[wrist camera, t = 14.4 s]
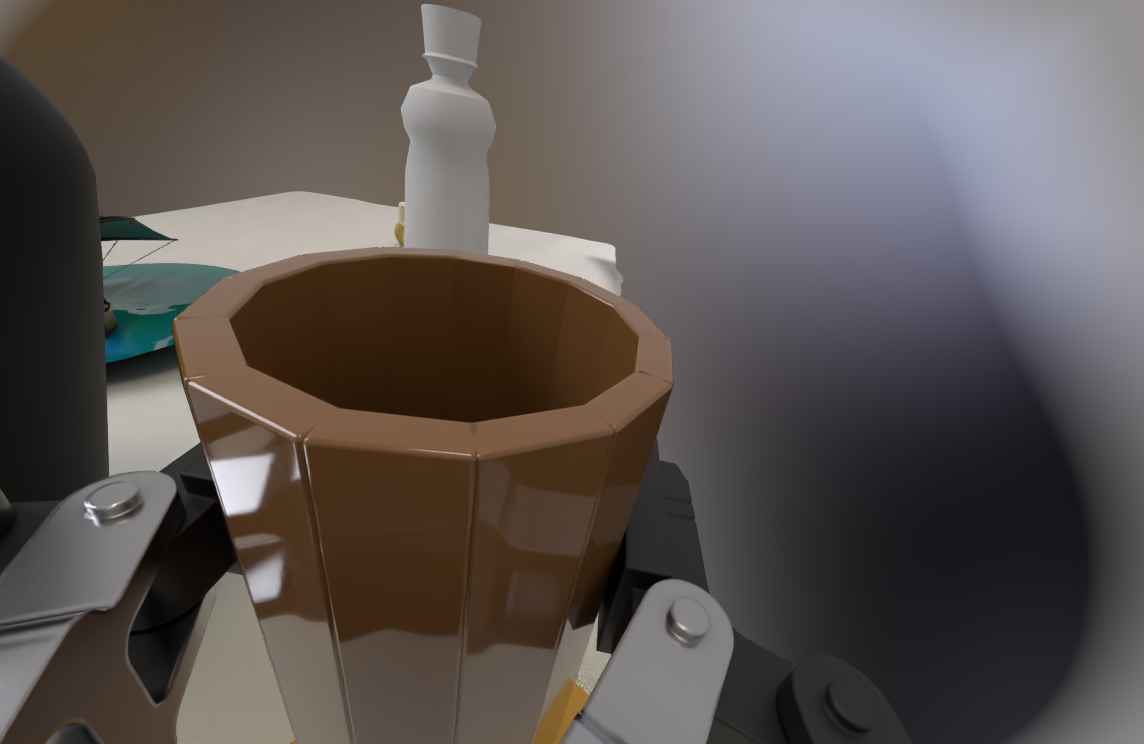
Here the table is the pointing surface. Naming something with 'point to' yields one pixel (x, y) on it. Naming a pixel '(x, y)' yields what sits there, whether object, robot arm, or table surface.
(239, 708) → the table surface
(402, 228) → the fruit
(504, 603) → the cup
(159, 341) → the boat on round base
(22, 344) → the vase
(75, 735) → the robot arm
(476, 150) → the bottle
